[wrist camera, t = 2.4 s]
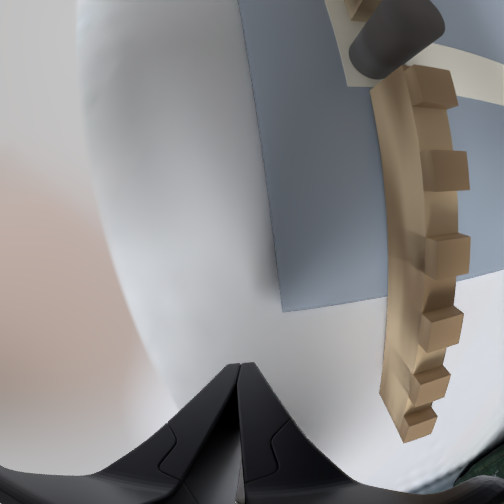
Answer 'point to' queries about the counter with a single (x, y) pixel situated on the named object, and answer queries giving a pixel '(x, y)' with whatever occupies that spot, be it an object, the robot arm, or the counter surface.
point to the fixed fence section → (391, 33)
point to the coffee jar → (487, 466)
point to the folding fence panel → (420, 240)
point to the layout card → (363, 143)
